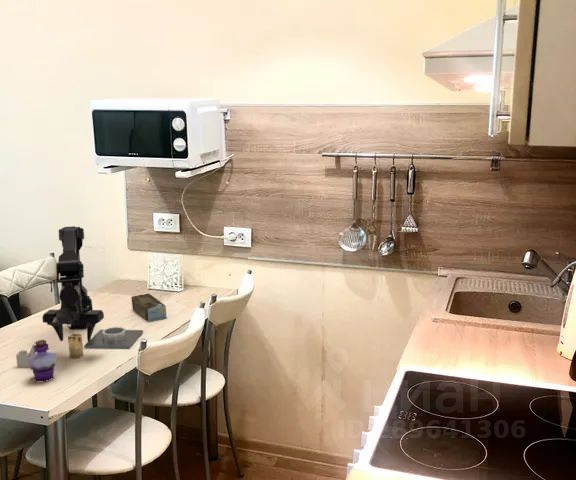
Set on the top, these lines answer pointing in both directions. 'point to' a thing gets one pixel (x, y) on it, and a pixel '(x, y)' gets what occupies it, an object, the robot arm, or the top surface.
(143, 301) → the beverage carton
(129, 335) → the ring block
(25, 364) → the grey notched block
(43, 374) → the potion bottle
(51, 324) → the robot arm
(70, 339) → the tan cylinder
